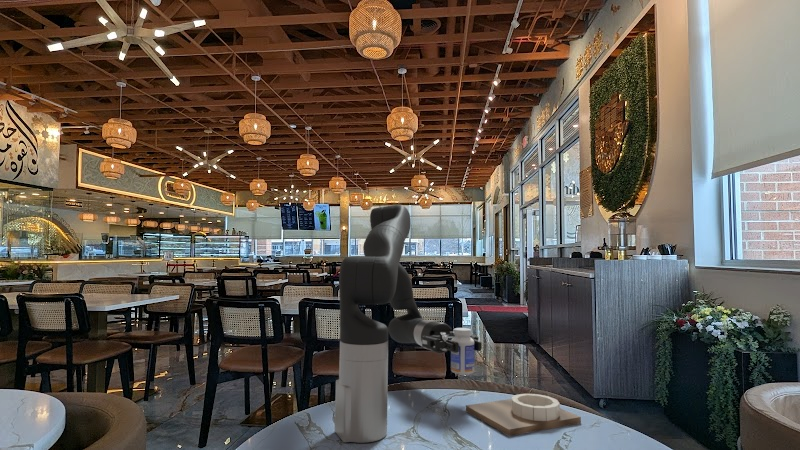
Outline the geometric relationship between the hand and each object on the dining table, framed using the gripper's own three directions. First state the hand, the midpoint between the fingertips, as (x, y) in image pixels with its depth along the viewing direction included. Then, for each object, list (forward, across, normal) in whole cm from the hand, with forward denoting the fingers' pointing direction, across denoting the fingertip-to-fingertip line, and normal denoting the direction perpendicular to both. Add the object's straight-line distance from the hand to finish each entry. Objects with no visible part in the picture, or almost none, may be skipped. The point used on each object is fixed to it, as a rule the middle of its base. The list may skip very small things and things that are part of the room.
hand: (468, 347), depth 101 cm
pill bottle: (-3, 0, +6) cm, 7 cm away
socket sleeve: (+11, +9, +12) cm, 19 cm away
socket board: (+9, +7, +13) cm, 18 cm away
